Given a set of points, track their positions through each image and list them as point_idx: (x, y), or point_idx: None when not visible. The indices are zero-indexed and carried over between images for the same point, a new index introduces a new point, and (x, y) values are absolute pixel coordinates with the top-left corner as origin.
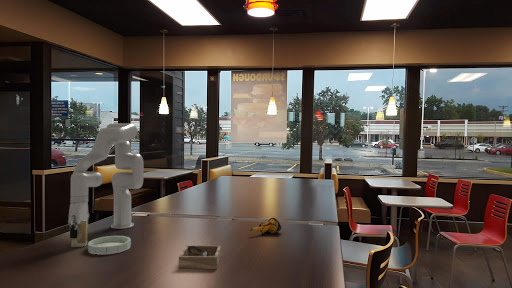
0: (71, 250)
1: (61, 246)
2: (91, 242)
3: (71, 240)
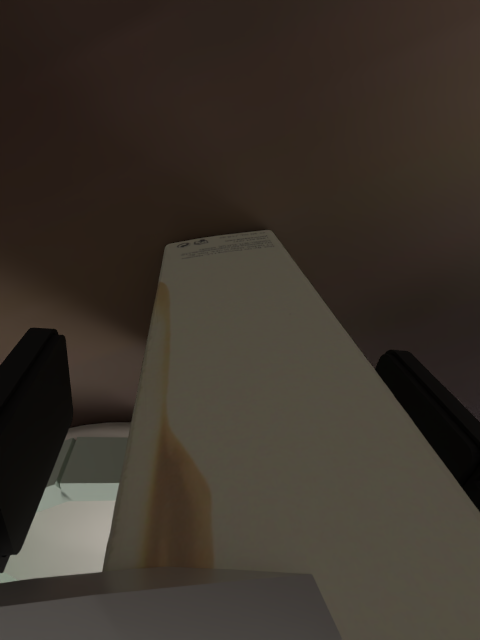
0: (50, 288)
1: (223, 79)
2: (86, 495)
3: (160, 276)
